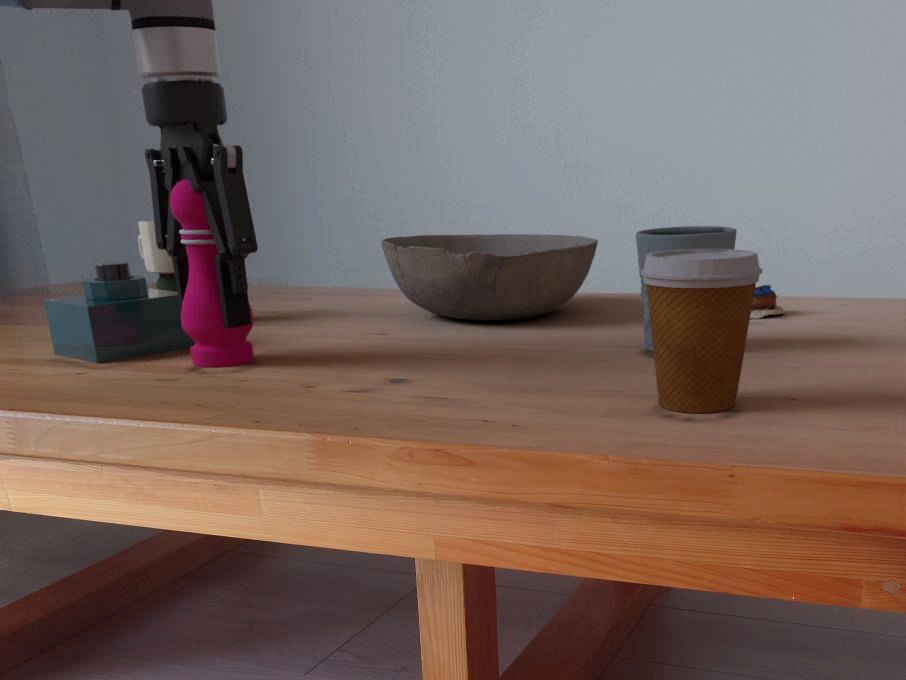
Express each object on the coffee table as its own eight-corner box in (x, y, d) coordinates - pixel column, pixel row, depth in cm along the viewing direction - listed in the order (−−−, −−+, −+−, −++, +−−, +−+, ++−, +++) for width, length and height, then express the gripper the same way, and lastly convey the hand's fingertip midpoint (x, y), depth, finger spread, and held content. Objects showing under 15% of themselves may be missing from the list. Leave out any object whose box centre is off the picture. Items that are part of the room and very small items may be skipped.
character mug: (233, 320, 134) (220, 217, 129) (195, 328, 128) (180, 221, 123) (171, 317, 138) (156, 217, 134) (132, 325, 132) (114, 221, 128)
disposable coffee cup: (780, 405, 82) (789, 253, 78) (690, 424, 77) (695, 262, 73) (702, 386, 89) (706, 246, 85) (616, 402, 85) (616, 254, 80)
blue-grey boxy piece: (97, 363, 107) (83, 287, 104) (54, 354, 113) (39, 281, 111) (197, 346, 116) (187, 274, 113) (152, 338, 122) (141, 270, 119)
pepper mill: (174, 363, 106) (142, 161, 99) (235, 353, 111) (209, 159, 104) (210, 371, 102) (179, 160, 94) (272, 360, 106) (247, 158, 99)
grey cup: (751, 348, 106) (757, 228, 101) (674, 360, 101) (677, 235, 96) (690, 335, 114) (693, 224, 109) (616, 345, 109) (616, 230, 105)
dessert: (749, 314, 122) (736, 271, 123) (719, 340, 127) (707, 298, 129) (800, 313, 125) (787, 271, 127) (769, 338, 131) (757, 298, 132)
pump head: (107, 285, 109) (104, 265, 109) (91, 283, 112) (88, 263, 111) (138, 281, 112) (135, 262, 111) (122, 279, 114) (118, 260, 113)
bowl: (347, 327, 126) (339, 244, 122) (449, 297, 149) (445, 227, 146) (550, 336, 116) (548, 245, 112) (625, 302, 139) (626, 227, 136)
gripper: (277, 75, 93) (305, 326, 101) (162, 88, 105) (195, 311, 113) (205, 72, 88) (241, 337, 96) (93, 86, 100) (133, 320, 108)
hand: (216, 322), depth 105 cm, fingers closed on pepper mill, 7 cm apart
